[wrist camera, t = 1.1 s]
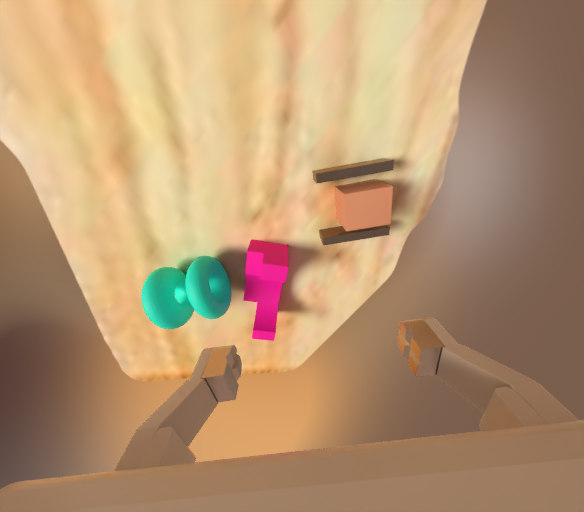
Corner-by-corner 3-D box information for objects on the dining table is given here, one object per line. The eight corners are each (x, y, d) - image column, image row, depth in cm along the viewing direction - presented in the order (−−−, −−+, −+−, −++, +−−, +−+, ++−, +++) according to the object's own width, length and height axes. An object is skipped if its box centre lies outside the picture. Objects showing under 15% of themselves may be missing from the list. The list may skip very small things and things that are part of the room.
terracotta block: (334, 186, 31) (344, 194, 26) (374, 179, 31) (392, 186, 26) (336, 218, 34) (346, 231, 28) (373, 211, 33) (390, 224, 28)
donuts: (238, 289, 40) (225, 330, 31) (190, 301, 41) (164, 344, 32) (215, 243, 35) (191, 276, 26) (162, 259, 36) (122, 295, 27)
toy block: (251, 239, 35) (243, 260, 28) (287, 244, 36) (288, 267, 29) (245, 306, 42) (237, 336, 35) (275, 310, 42) (273, 340, 36)
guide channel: (312, 171, 30) (315, 173, 27) (382, 158, 30) (393, 159, 26) (319, 236, 35) (323, 245, 32) (379, 226, 34) (389, 234, 31)
